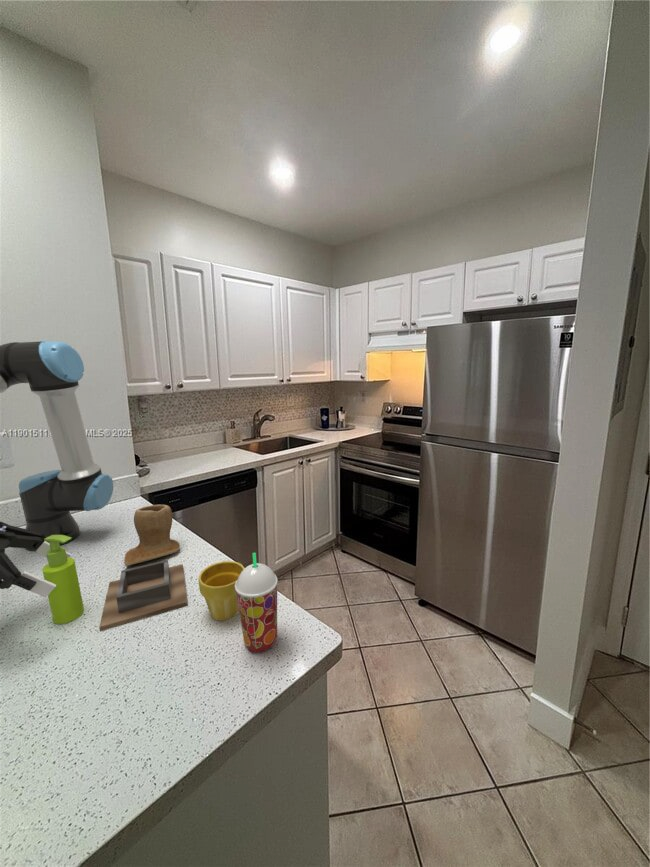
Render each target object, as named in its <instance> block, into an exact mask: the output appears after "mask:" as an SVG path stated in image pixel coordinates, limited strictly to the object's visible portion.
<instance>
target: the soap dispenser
mask: <svg viewBox="0 0 650 867" xmlns="http://www.w3.org/2000/svg"><path fill="white" fill-rule="evenodd" d="M70 539H71V537H68V536H65V535H51V536H49V537H47V538H45V539H44V541H49V544H50V550H49V551H48V552H47V557H46V559H47V564H45V565H44V566H43V567H42V569H41V571H42V575H43V579H44V580H47V581H49V582H51V583H53V584H56V587H55V588H54V589H53V590H52V591H51V592H50V594H49V595H48V596H47V598H48V602H49V606H50V612H51V616H52V621H53V623H54V624H56V625H65V624H68V623H71V622H73V621H75V620H77V619H79V618H80V616H82V615H83V613H84V611H85V608H84V603H83V597H82V592H81V587H80V582H79V577H78V571H77V567H76V561H75V558H73V557H69V558H67V555H66V552H67V549H66V547H65V546H61V545H60V544H59V542H60V543H65V542H67V541H69V540H70Z"/></svg>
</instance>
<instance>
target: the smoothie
mask: <svg viewBox="0 0 650 867" xmlns="http://www.w3.org/2000/svg"><path fill="white" fill-rule="evenodd" d="M244 568H245V569H244V570H243V571H242V572H241V573H240V575H239V577H238V580H237V581H236V583H235V590H236V596H237V602H238V608H239V612H238V613H239V618H240V620H239V621H240V626H241V631H242V637H243V642H244V644H245V645H246V647H247V648H248V650H250V651H252V652H253V653H262V652H267V651H268V650H269V649H271V648H272V646H274V644H275V642H276V640H277V638H278V580H279V579H278V577H277V575H276V573H275V572H274V571H273V569H271V568H270V567H269V566H268V565H266V564H264V563H260V562H257V552H252V564H250V565H247V566H246V567H244Z"/></svg>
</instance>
